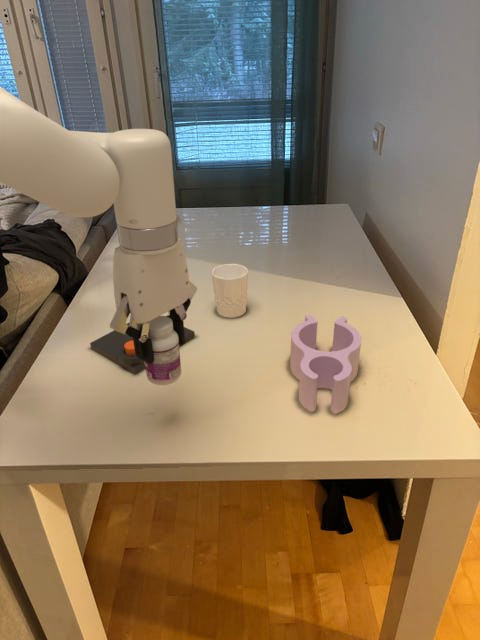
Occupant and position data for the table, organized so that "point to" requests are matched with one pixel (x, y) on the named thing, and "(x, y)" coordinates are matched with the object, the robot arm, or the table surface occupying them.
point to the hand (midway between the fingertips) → (161, 349)
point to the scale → (115, 349)
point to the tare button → (129, 348)
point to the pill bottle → (163, 352)
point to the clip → (324, 362)
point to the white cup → (230, 289)
